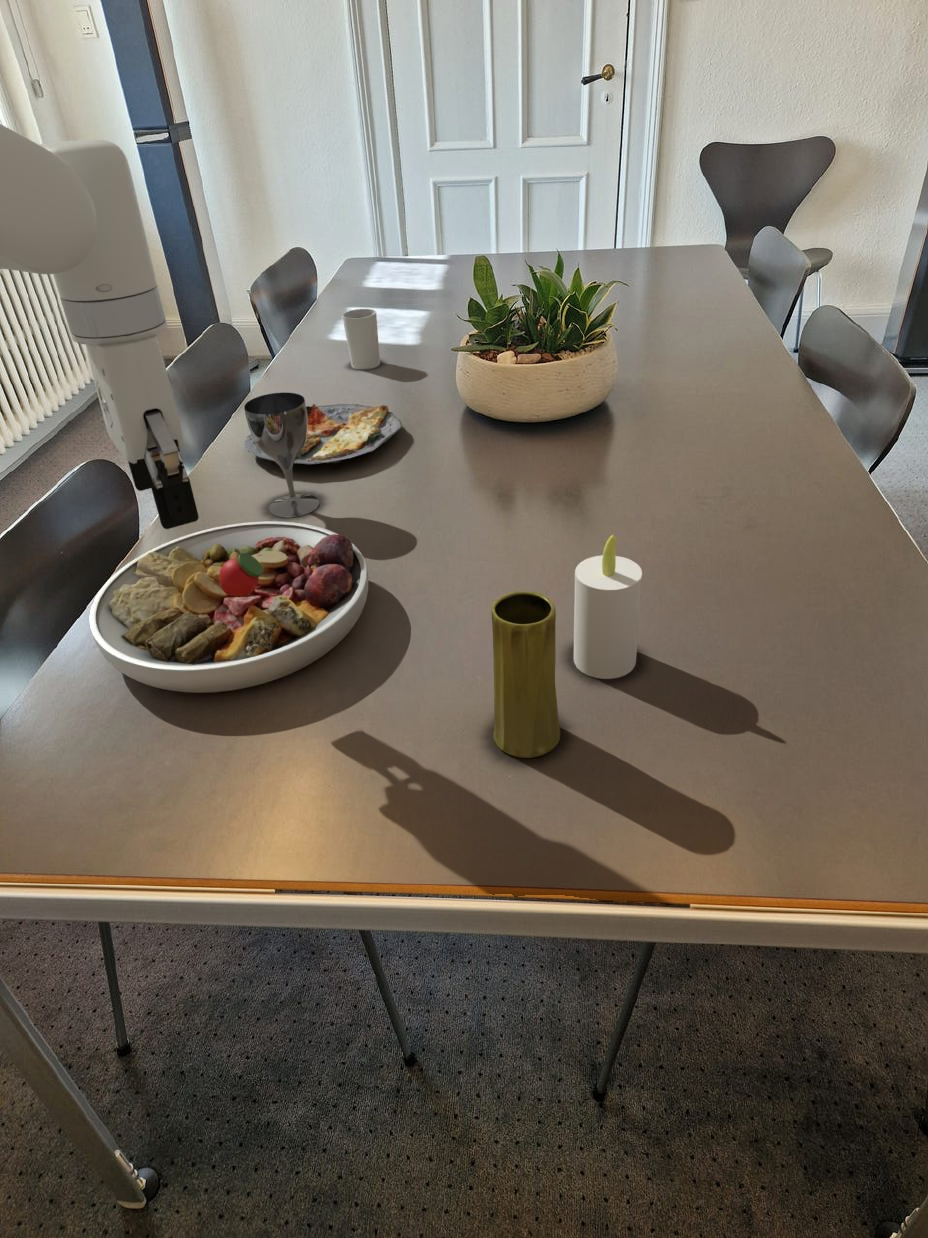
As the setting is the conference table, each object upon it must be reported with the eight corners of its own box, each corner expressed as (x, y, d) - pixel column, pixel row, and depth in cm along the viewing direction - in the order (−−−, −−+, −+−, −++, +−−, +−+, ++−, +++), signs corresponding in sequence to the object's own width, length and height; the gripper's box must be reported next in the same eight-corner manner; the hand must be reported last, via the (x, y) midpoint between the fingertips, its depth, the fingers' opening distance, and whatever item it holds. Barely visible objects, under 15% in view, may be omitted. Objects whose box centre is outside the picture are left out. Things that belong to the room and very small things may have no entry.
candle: (616, 634, 90) (622, 507, 82) (647, 669, 85) (658, 538, 76) (562, 649, 89) (563, 522, 80) (591, 685, 83) (595, 553, 75)
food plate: (303, 410, 151) (300, 390, 149) (422, 420, 143) (421, 400, 141) (222, 468, 132) (217, 447, 130) (354, 484, 124) (351, 462, 122)
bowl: (119, 747, 80) (93, 682, 76) (91, 596, 103) (70, 539, 99) (412, 652, 90) (405, 589, 85) (327, 533, 113) (317, 479, 108)
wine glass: (334, 499, 121) (317, 397, 112) (296, 523, 115) (276, 418, 107) (292, 488, 125) (273, 389, 116) (254, 511, 119) (231, 408, 111)
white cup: (385, 366, 168) (379, 315, 162) (352, 372, 167) (345, 320, 161) (378, 357, 173) (372, 306, 168) (346, 362, 172) (339, 311, 166)
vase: (552, 764, 75) (551, 633, 67) (485, 753, 77) (477, 623, 68) (566, 719, 80) (567, 591, 71) (503, 709, 81) (497, 583, 73)
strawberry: (236, 611, 88) (262, 584, 86) (204, 586, 87) (231, 558, 85) (245, 594, 92) (270, 568, 90) (215, 570, 90) (240, 543, 89)
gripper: (50, 302, 74) (105, 483, 83) (88, 346, 61) (148, 553, 71) (137, 288, 77) (181, 464, 87) (190, 327, 64) (235, 528, 74)
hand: (166, 504), depth 79 cm, fingers open, 9 cm apart
